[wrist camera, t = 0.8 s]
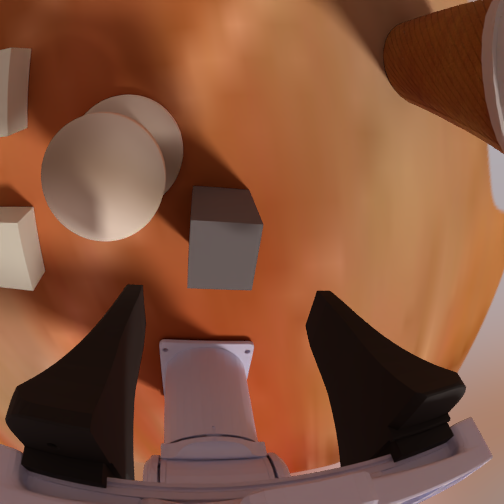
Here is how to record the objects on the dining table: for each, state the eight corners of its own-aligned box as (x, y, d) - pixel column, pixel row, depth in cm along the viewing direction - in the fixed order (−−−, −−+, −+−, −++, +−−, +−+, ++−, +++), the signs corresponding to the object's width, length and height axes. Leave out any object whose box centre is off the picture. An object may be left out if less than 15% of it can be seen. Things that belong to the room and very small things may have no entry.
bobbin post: (179, 207, 20) (173, 253, 15) (76, 203, 18) (42, 247, 13) (188, 96, 16) (182, 102, 11) (74, 96, 15) (29, 107, 10)
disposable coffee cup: (352, 112, 18) (498, 172, 8) (367, -19, 13) (510, -59, 3) (455, 139, 20) (578, 204, 9) (469, 30, 15) (599, 49, 5)
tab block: (240, 245, 22) (251, 290, 17) (189, 242, 21) (187, 287, 17) (248, 189, 20) (263, 224, 16) (192, 185, 19) (191, 220, 15)
